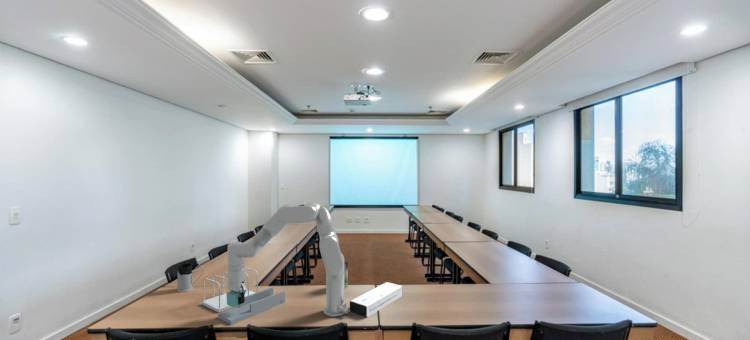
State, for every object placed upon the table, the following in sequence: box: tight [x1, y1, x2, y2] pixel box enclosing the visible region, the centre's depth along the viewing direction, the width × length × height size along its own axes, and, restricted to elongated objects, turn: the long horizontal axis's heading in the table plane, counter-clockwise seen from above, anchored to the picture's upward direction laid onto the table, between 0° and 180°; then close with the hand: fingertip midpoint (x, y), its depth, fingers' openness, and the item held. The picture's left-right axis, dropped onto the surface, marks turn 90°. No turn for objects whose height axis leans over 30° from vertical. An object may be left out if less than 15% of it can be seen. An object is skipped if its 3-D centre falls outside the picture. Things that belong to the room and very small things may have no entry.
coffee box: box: [344, 260, 349, 289], centre depth 204 cm, size 9×6×16 cm
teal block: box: [225, 291, 245, 309], centre depth 166 cm, size 6×6×6 cm
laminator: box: [349, 281, 403, 318], centre depth 182 cm, size 34×12×6 cm, turn 143°
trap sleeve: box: [217, 286, 286, 326], centre depth 174 cm, size 12×32×6 cm, turn 144°
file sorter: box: [201, 266, 259, 314], centre depth 186 cm, size 25×17×16 cm
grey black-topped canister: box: [176, 263, 204, 293], centre depth 204 cm, size 9×14×15 cm, turn 118°
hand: (237, 301), depth 167 cm, fingers closed on teal block, 6 cm apart
